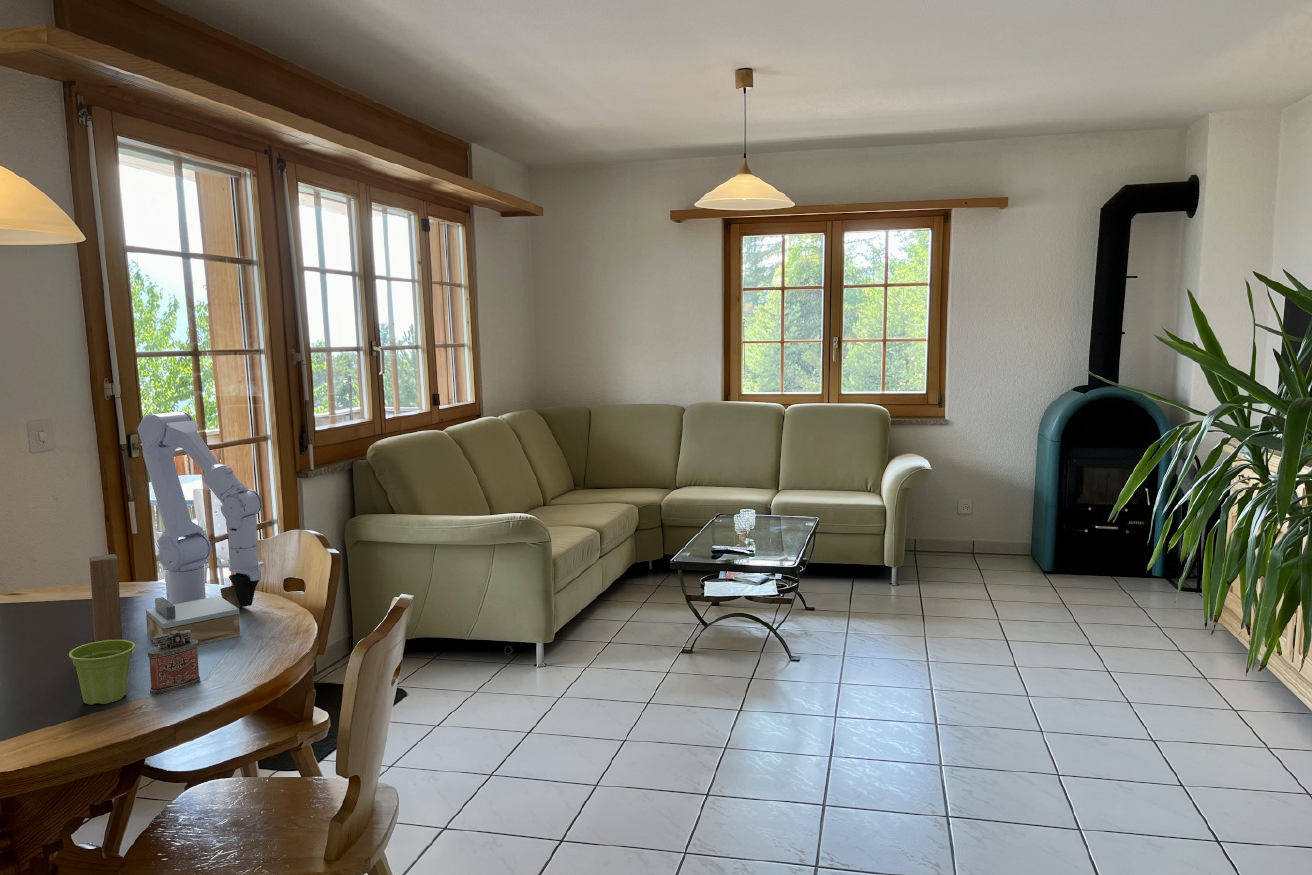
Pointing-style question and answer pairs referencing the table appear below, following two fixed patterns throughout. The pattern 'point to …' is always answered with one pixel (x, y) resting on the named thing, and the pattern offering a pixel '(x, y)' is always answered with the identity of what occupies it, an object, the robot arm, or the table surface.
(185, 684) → the lighter
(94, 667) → the plant pot
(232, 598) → the small brown block
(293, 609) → the table surface
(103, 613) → the wooden block
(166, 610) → the toolbox lid
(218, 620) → the brown piece
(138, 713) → the table surface
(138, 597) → the table surface
